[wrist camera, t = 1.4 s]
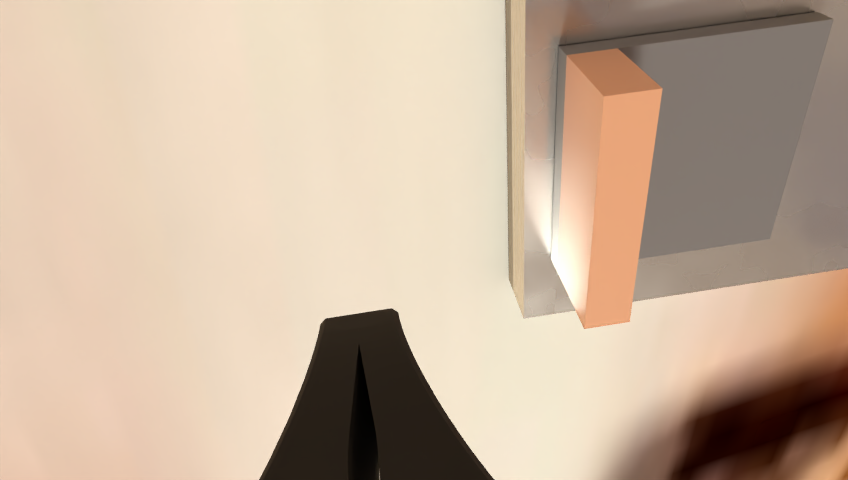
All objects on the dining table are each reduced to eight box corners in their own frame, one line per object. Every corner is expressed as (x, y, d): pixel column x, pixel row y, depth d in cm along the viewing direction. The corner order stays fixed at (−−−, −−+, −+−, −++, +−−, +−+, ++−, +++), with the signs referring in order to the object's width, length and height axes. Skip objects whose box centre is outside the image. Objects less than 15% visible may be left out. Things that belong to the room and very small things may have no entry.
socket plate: (994, -133, 16) (1070, -123, 14) (856, 226, 22) (897, 260, 21) (504, -72, 15) (525, -55, 14) (509, 279, 22) (523, 318, 20)
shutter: (817, 11, 15) (910, 54, 13) (758, 227, 19) (821, 291, 17) (558, 46, 15) (603, 96, 13) (550, 258, 19) (584, 329, 16)
